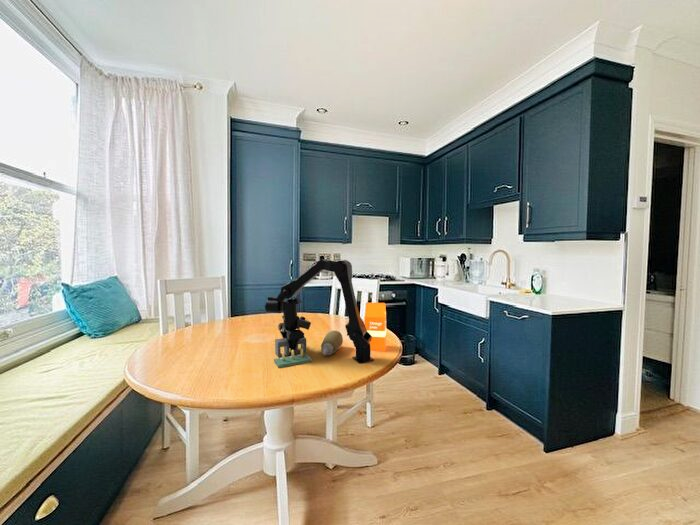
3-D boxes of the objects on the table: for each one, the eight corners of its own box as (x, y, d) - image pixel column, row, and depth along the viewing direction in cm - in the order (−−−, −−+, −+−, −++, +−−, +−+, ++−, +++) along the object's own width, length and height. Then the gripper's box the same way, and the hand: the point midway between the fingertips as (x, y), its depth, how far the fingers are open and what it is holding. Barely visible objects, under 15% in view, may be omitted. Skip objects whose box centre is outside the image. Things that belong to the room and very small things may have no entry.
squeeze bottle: (346, 344, 133) (335, 362, 116) (329, 346, 135) (316, 364, 118) (342, 326, 133) (331, 342, 115) (325, 329, 134) (311, 345, 117)
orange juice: (384, 351, 127) (384, 304, 126) (364, 350, 129) (364, 304, 128) (386, 345, 135) (386, 301, 134) (367, 344, 136) (366, 300, 135)
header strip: (306, 356, 122) (305, 345, 122) (311, 361, 116) (311, 350, 115) (274, 361, 116) (273, 350, 116) (278, 367, 110) (278, 355, 110)
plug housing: (302, 349, 131) (302, 335, 130) (306, 352, 126) (306, 338, 126) (275, 353, 125) (275, 339, 125) (278, 357, 121) (277, 342, 121)
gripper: (316, 316, 120) (316, 354, 121) (302, 308, 137) (302, 341, 138) (289, 319, 115) (289, 358, 116) (277, 310, 132) (278, 345, 133)
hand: (290, 350), depth 126 cm, fingers open, 6 cm apart
